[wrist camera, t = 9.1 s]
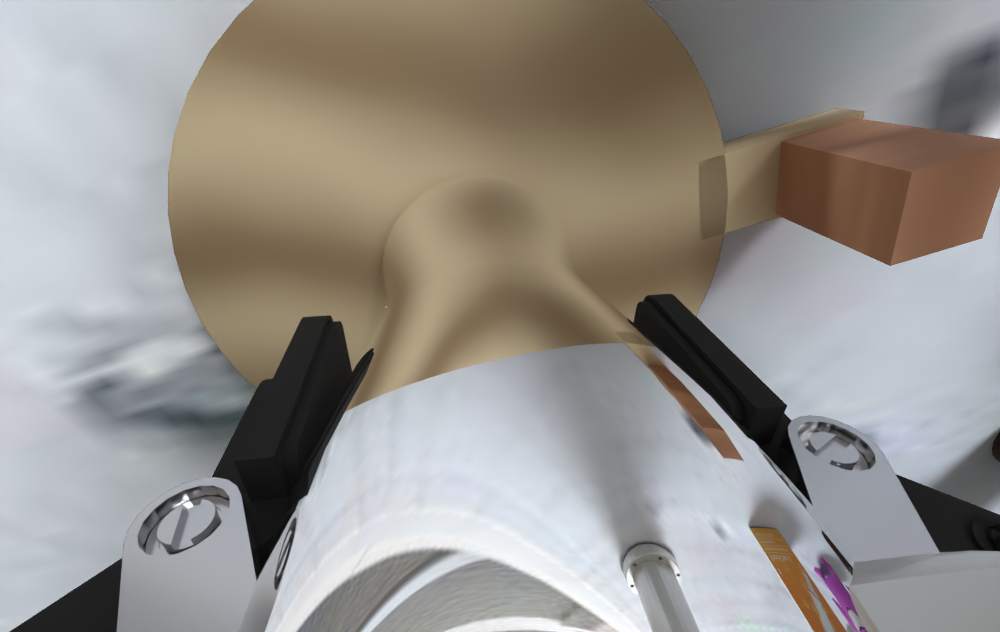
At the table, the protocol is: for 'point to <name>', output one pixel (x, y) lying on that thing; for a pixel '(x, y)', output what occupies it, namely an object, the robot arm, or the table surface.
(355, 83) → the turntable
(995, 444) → the coffee mug
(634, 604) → the metal tumbler
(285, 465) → the robot arm
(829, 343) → the table surface
